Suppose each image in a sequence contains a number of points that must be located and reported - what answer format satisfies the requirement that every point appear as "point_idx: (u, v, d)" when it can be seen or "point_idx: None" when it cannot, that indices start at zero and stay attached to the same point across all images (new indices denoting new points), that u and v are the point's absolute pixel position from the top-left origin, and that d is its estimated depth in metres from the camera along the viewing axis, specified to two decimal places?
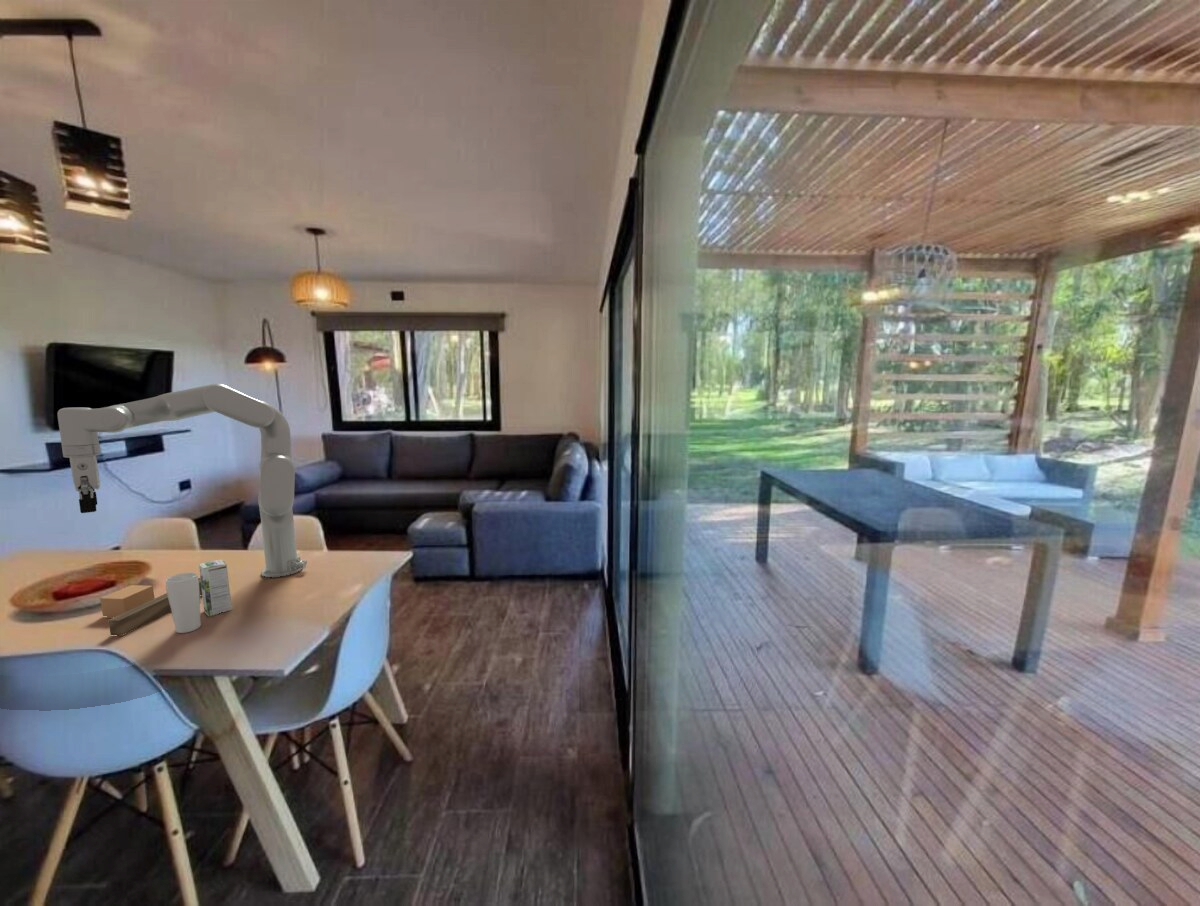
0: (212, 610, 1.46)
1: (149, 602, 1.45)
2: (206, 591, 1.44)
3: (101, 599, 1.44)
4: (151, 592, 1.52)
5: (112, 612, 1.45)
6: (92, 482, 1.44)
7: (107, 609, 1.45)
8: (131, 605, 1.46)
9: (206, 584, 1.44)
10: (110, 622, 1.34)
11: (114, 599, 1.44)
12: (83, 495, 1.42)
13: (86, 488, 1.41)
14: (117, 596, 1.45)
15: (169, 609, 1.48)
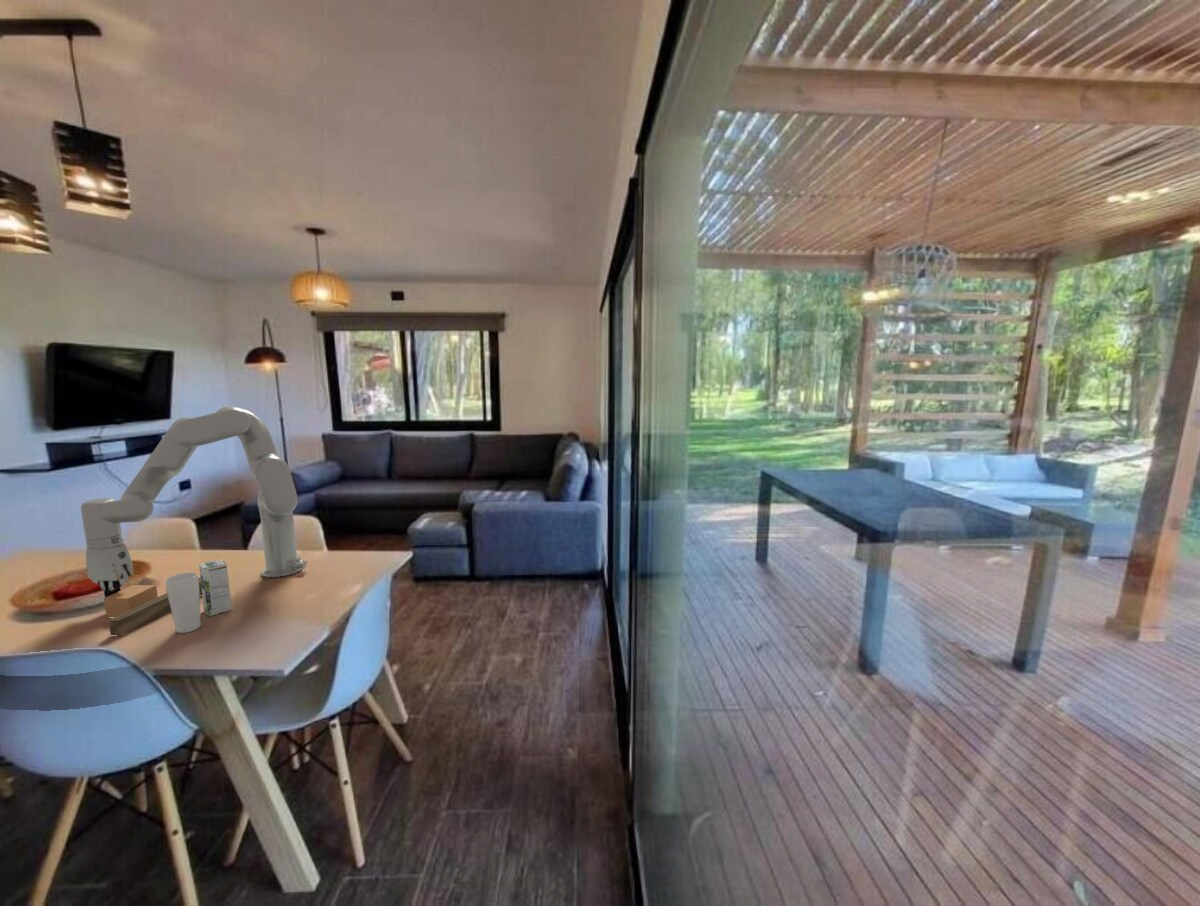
0: (212, 610, 1.46)
1: (149, 602, 1.45)
2: (206, 591, 1.44)
3: (105, 599, 1.44)
4: (154, 591, 1.52)
5: (117, 612, 1.44)
6: (130, 568, 1.49)
7: (111, 609, 1.44)
8: (136, 605, 1.46)
9: (206, 584, 1.44)
10: (110, 622, 1.34)
11: (120, 599, 1.44)
12: (117, 585, 1.48)
13: (126, 582, 1.48)
14: (122, 596, 1.45)
15: (169, 609, 1.48)
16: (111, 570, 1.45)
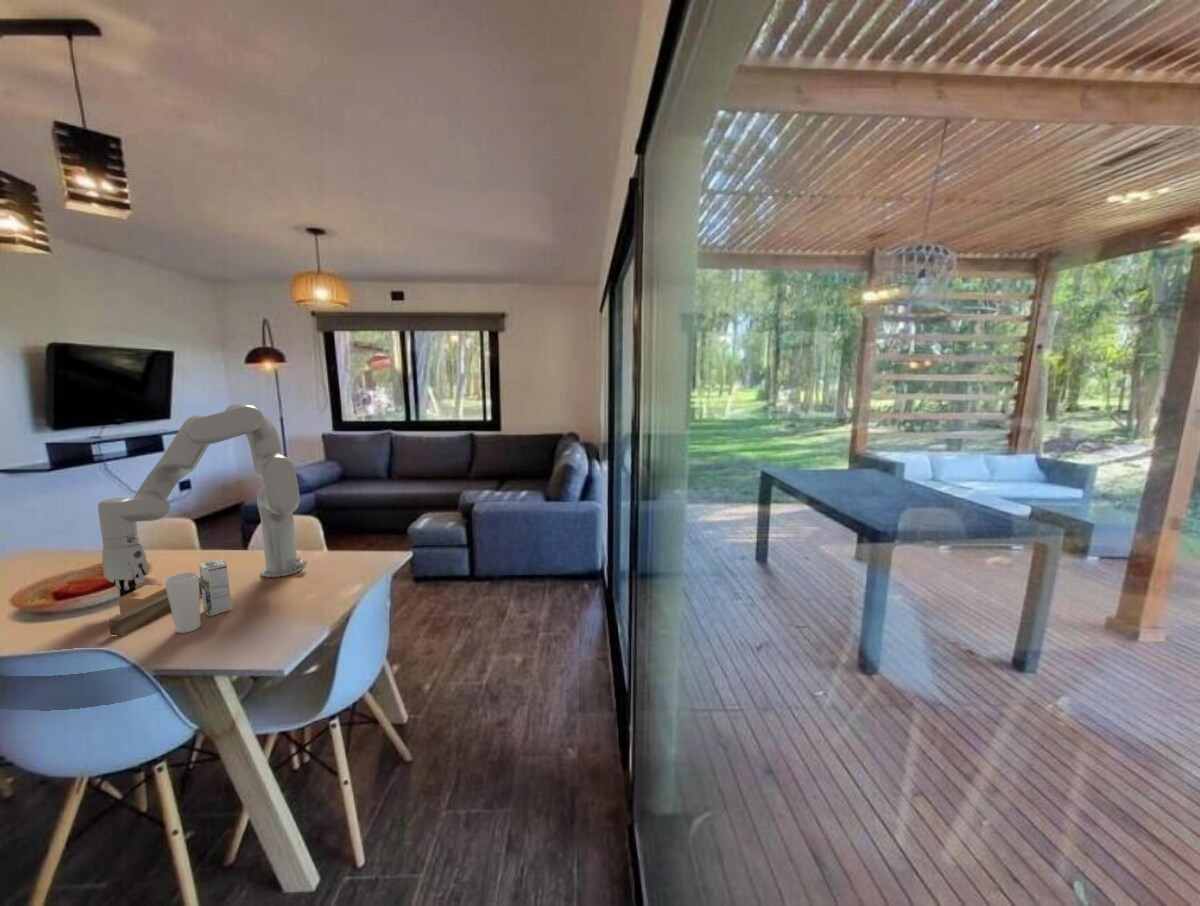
0: (212, 610, 1.46)
1: (149, 602, 1.45)
2: (206, 591, 1.44)
3: (119, 599, 1.44)
4: None
5: None
6: (145, 568, 1.49)
7: (125, 609, 1.44)
8: None
9: (206, 584, 1.44)
10: (110, 622, 1.34)
11: (134, 599, 1.43)
12: (133, 585, 1.48)
13: None
14: (136, 596, 1.45)
15: (169, 609, 1.48)
16: (127, 569, 1.45)
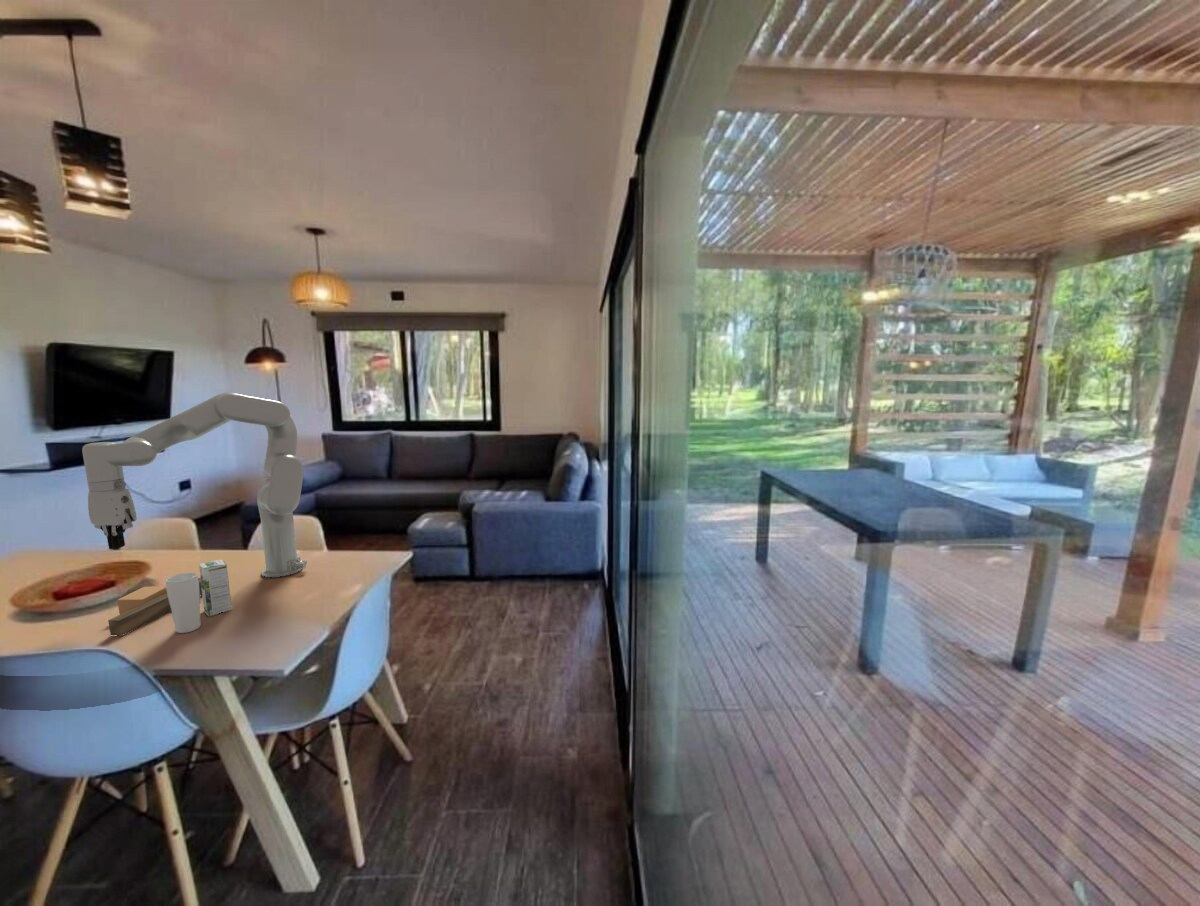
0: (212, 610, 1.46)
1: (149, 602, 1.45)
2: (206, 591, 1.44)
3: (118, 601, 1.43)
4: None
5: None
6: (133, 514, 1.47)
7: (124, 611, 1.44)
8: None
9: (206, 584, 1.44)
10: (110, 622, 1.34)
11: (134, 600, 1.43)
12: (121, 530, 1.46)
13: (130, 527, 1.46)
14: (135, 597, 1.45)
15: (169, 609, 1.48)
16: (114, 514, 1.43)
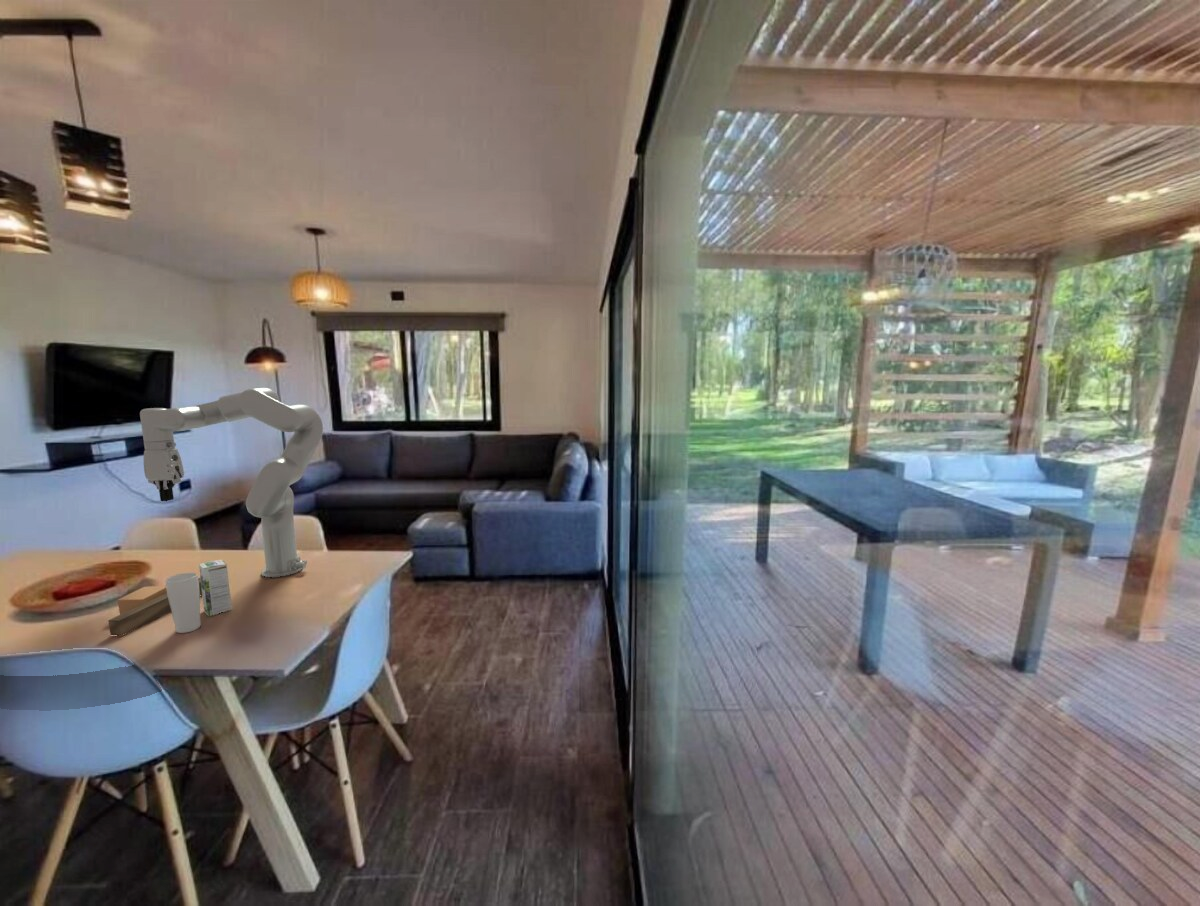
0: (212, 610, 1.46)
1: (149, 602, 1.45)
2: (206, 591, 1.44)
3: (119, 601, 1.43)
4: None
5: None
6: (181, 471, 1.69)
7: (125, 611, 1.44)
8: None
9: (206, 584, 1.44)
10: (110, 622, 1.34)
11: (134, 600, 1.44)
12: (171, 485, 1.68)
13: (178, 482, 1.68)
14: (136, 597, 1.45)
15: (169, 609, 1.48)
16: (166, 470, 1.65)
